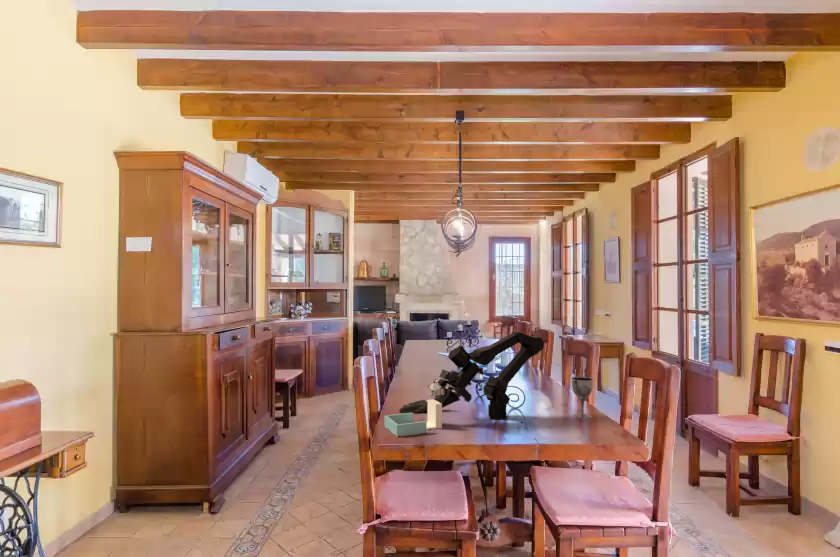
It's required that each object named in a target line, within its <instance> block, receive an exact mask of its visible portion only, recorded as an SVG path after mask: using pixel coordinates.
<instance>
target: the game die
mask: <svg viewBox="0 0 840 557" xmlns="http://www.w3.org/2000/svg"><path fill="white" fill-rule="evenodd" d="M438 381H439V380H437V379H436V378H434V380H433V382H431V384H430V385H427V387H429V390H430V391H431V392H430V393H431V397H433V396H435V397H437V396H439V395H442V394H444V389H443V388H442V387H441V386H440V385H439V384H438V383H437V382H438Z"/></svg>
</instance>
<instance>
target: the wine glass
mask: <svg viewBox="0 0 840 557" xmlns="http://www.w3.org/2000/svg"><path fill="white" fill-rule="evenodd" d="M593 381H594V379H593V378H592V377H588V376H573V377H571V386H572V391H573V393H574V394H575V395H576V397H577V399H579V401H580V407H581V412H580V413H574V414H573V415H572V416H573V417H574V416H575V417H574V418H577V419H591V418H593V416H592V415H591V414H587V413H584V406H585V401H586V400H587V399H588V398H589V396H591V394H592V391H593V385H594V382H593Z"/></svg>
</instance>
